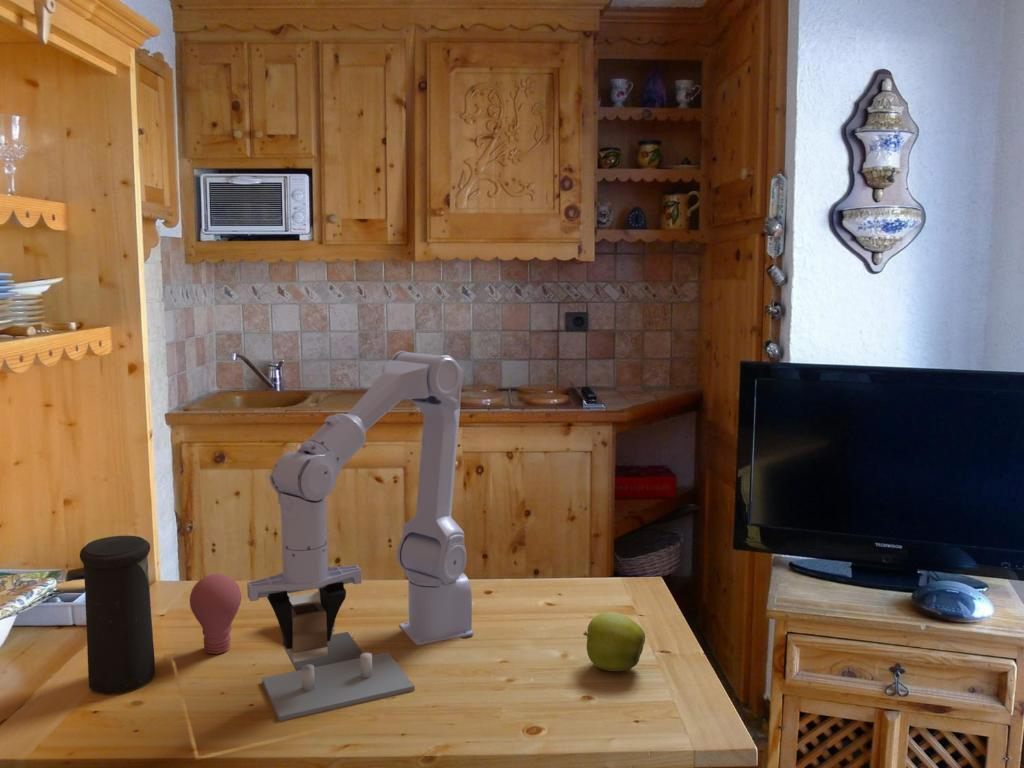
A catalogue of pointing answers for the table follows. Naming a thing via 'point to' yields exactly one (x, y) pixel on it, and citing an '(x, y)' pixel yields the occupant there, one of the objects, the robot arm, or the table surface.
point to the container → (118, 614)
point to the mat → (333, 652)
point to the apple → (614, 641)
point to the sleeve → (308, 631)
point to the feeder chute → (306, 599)
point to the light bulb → (215, 609)
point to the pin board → (335, 685)
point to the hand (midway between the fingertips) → (307, 642)
